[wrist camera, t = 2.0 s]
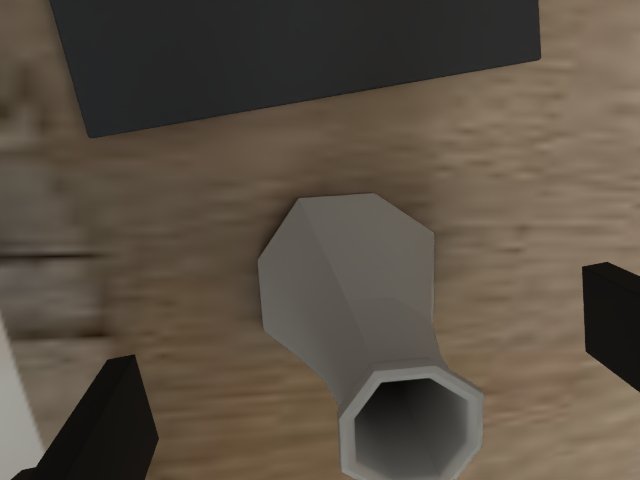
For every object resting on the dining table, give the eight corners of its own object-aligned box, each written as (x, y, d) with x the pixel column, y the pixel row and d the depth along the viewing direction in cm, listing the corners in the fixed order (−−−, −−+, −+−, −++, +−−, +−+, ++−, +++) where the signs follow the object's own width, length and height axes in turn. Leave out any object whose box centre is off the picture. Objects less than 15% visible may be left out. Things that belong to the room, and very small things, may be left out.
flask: (280, 167, 19) (287, 228, 9) (460, 214, 20) (633, 313, 10) (236, 342, 21) (202, 549, 11) (405, 378, 22) (509, 594, 12)
